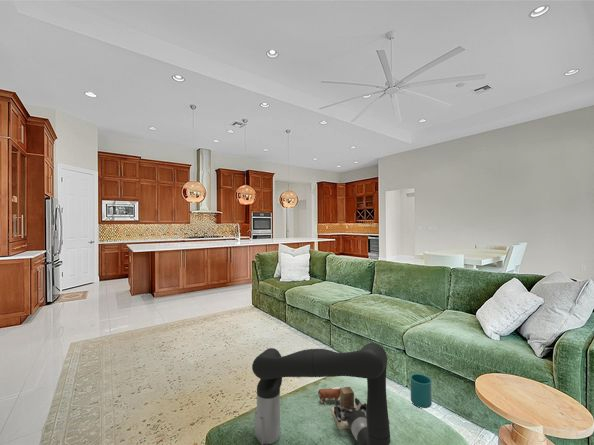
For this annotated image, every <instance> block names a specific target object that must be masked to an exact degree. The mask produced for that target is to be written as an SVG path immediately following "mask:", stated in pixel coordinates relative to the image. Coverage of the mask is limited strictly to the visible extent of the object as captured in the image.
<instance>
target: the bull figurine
mask: <svg viewBox="0 0 594 445" xmlns="http://www.w3.org/2000/svg"><path fill="white" fill-rule="evenodd" d="M342 387H343V386H336V387H329V388H321V389H319V390H318V392H317V394H318V396H319V401H320V402H321V404H324V405H327V402H326V399H327V400H328V401H330V400H333V399H334V403H335V402H336V400H338V401H339V399H340V388H342Z"/></svg>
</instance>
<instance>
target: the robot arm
mask: <svg viewBox="0 0 594 445" xmlns="http://www.w3.org/2000/svg"><path fill="white" fill-rule="evenodd" d="M251 365H252V366H251V369H252V373H253V375H254V376H255V377H257V378H258V379H259V381H258V383H257V385H256V411H254V437H255V438H256V440H257V441H258V442H259V444H260V445H271V444H275V443H276V442H277V441H278V440H279V439H280V437H281V387H282V382H283V378H327V377H328V378H331V377H332V378H335V377H352V378H360V379H366V382H367V384H366V385H367V390H366V391H367V393H366V394H367V395H366V402H364V404H363V402H361V401H360V399H358V398H357V397H354V405H355V404H356V405H357V408H346V407H342V406H340V402H339V399H338V400H336V402H335V401H334V405H335V406H333V407H334V415H335V416H336V418H337V420H338V422H341V420H344V419H345V420H346V421H347V423H348V425H349V427H350V429H349V430H350V431H351V433H352V435H353V437H354V439H355V440H356V442H357V443H358V445H390V444H391V430H390V423H389V419H390V418H389V410H388V399H387V365H388V355H387V352H386V350H385V348H383V347H382V345H380V344H379V343H376V342H369V343H367V344H365V345H363V346H362V347H361V349H359V350H355V351H349V352H348V351H347V352H339V351H338V352H337V351H334V350H330V349H326V348H307V349H302V350H299V351H296V352H292V353H290V354H286V355H283V356H282V355H281V353H280V351H279V350H278V349H276V348H273V347H269V348H267V349H265V350H264V351H262V352H261V353H260V354H259V355H257V356H256V357H255V359H254V360H253V362H252V364H251ZM366 403H367V404H366ZM362 409H364V411H365V413H364V412H363V411H362ZM341 410H342V411H341ZM345 411H346V412H345Z"/></svg>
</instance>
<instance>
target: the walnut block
mask: <svg viewBox="0 0 594 445" xmlns="http://www.w3.org/2000/svg"><path fill="white" fill-rule="evenodd" d="M341 387H342V388H340V398H339V400H340V402H339V403H340V406H342V407H346V408H354V405H355V391H354V390H353V389H352V387H351V386H341ZM341 411H342V410H341ZM345 412H346V411H345ZM343 421H346V420H345V419H344V420H343Z"/></svg>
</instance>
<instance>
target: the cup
mask: <svg viewBox="0 0 594 445" xmlns="http://www.w3.org/2000/svg"><path fill="white" fill-rule="evenodd" d="M432 390H433V389H432V379H431V378H430V377H429V376H427V375H425V374H421V373H413V374H411V375H410V401H411V403H412V404H413V405H414V406H415V407H418V408H421V409H429V408H431V407H432V405H433V404H432V402H433V399H432V398H433V397H432Z"/></svg>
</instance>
